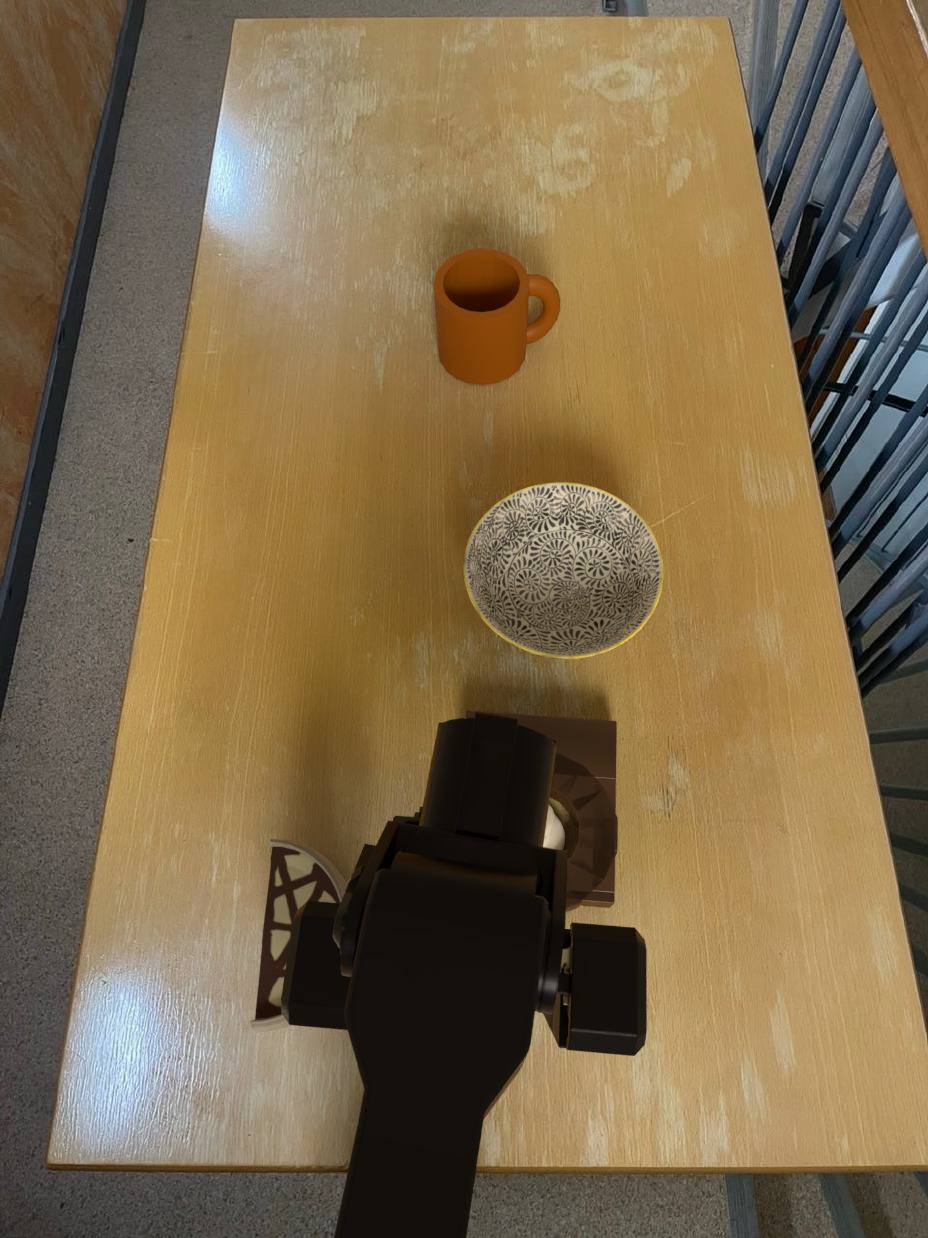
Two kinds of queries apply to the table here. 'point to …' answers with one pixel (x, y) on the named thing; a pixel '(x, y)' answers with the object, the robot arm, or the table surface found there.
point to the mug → (488, 314)
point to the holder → (584, 801)
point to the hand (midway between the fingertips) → (468, 986)
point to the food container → (288, 918)
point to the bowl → (563, 570)
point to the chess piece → (554, 832)
